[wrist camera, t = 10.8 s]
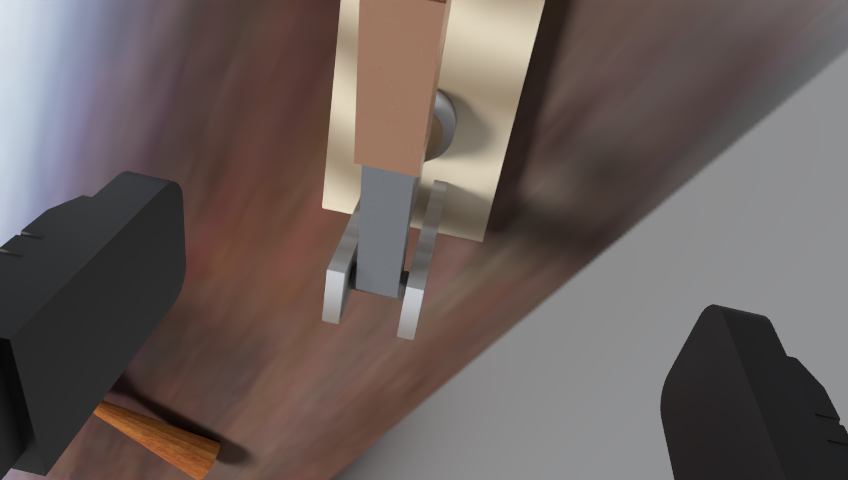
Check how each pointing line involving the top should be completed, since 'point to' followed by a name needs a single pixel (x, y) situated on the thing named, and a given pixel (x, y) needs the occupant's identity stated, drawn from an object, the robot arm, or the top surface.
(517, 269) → the top surface
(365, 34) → the lever
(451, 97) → the base
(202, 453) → the two-tone long tapered part
